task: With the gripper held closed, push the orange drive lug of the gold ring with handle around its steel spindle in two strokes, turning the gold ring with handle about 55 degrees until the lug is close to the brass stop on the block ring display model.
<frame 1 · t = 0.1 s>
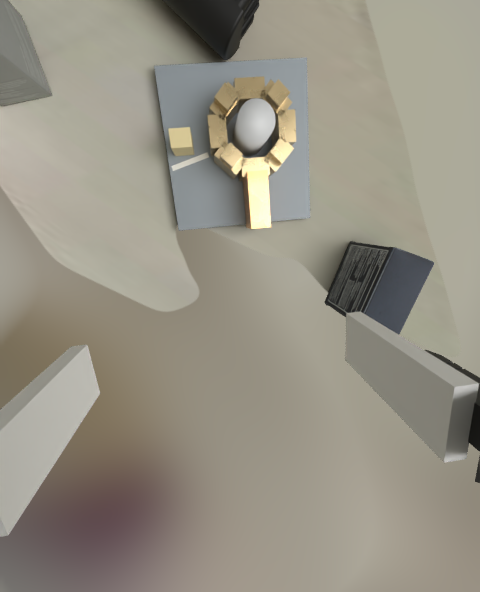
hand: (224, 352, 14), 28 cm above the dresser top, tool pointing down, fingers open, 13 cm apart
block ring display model: (246, 142, 37), on the dresser top
small box: (353, 278, 44), on the dresser top
grey rectangular box: (17, 66, 32), on the dresser top
gold ring with handle: (253, 159, 33), point 5 cm above the dresser top, hinge at 0.0°
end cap: (207, 16, 33), on the dresser top
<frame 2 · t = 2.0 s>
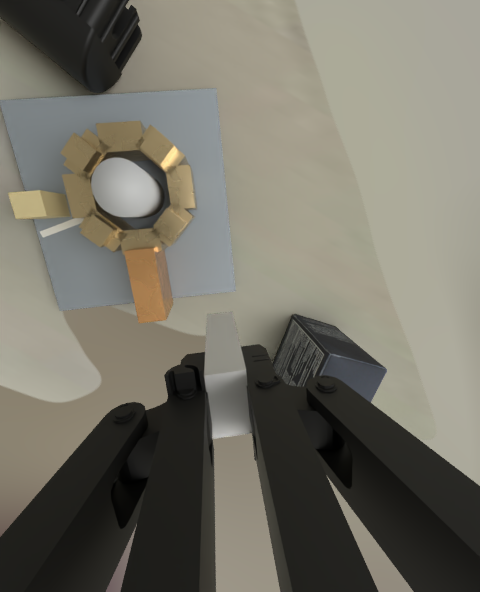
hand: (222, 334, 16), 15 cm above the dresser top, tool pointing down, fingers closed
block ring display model: (146, 197, 28), on the dresser top
small box: (299, 356, 35), on the dresser top
gold ring with handle: (141, 228, 24), point 5 cm above the dresser top, hinge at 0.0°
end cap: (77, 31, 24), on the dresser top
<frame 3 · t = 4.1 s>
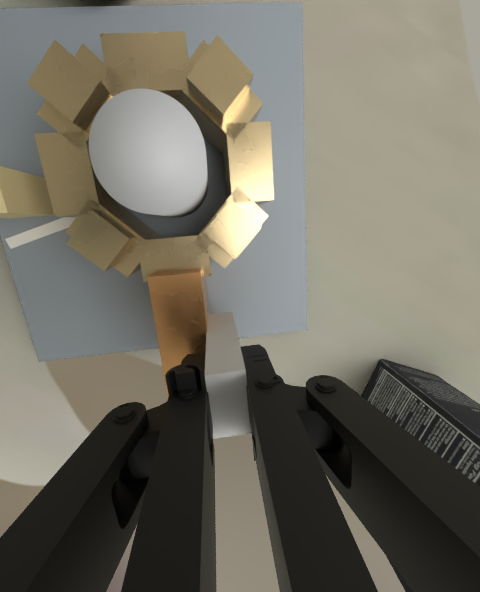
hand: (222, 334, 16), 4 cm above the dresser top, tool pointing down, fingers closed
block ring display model: (177, 185, 18), on the dresser top
small box: (382, 415, 25), on the dresser top
gold ring with handle: (175, 236, 14), point 4 cm above the dresser top, hinge at 0.2°, touching gripper
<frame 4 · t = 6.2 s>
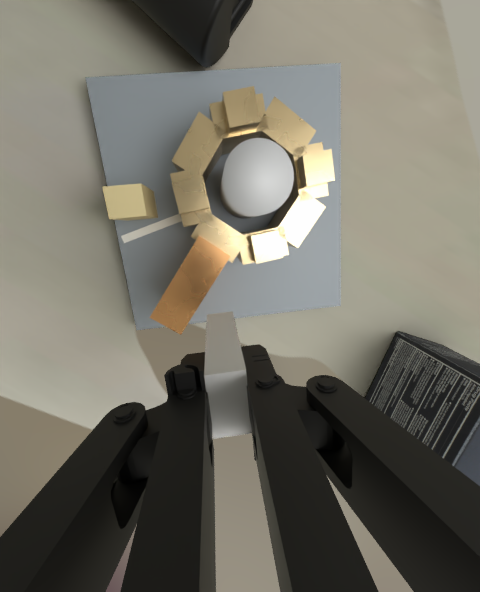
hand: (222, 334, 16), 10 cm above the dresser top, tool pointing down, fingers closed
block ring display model: (242, 194, 23), on the dresser top
small box: (399, 379, 30), on the dresser top
gold ring with handle: (226, 224, 20), point 4 cm above the dresser top, hinge at 38.4°
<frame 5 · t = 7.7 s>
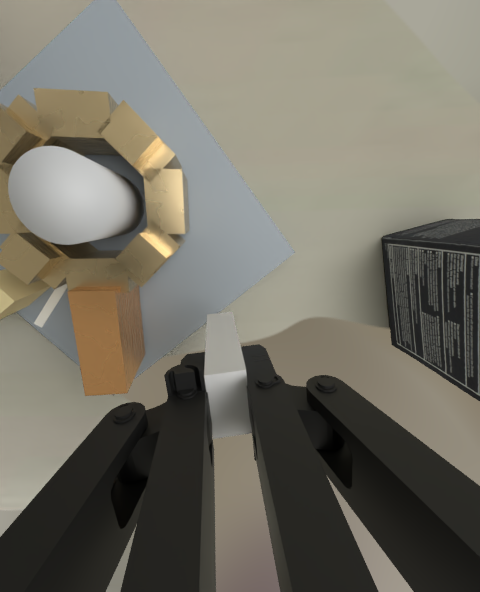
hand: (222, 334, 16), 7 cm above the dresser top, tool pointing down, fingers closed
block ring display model: (120, 206, 20), on the dresser top
small box: (417, 284, 25), on the dresser top
gold ring with handle: (103, 255, 16), point 4 cm above the dresser top, hinge at 38.4°
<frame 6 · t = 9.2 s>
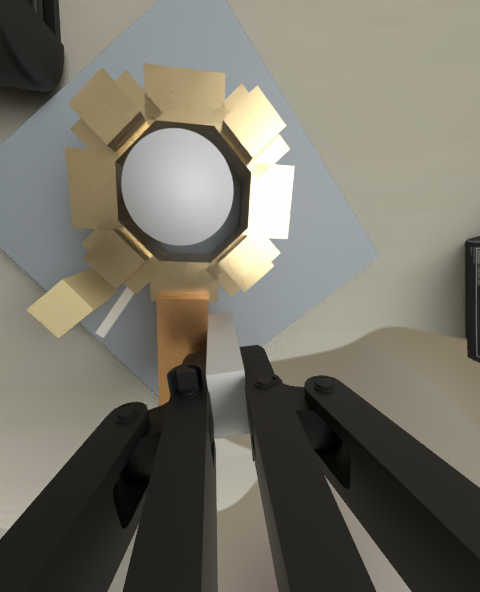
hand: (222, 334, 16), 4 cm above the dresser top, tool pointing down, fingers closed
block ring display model: (192, 204, 18), on the dresser top
gold ring with handle: (186, 258, 15), point 5 cm above the dresser top, hinge at 40.9°, touching gripper
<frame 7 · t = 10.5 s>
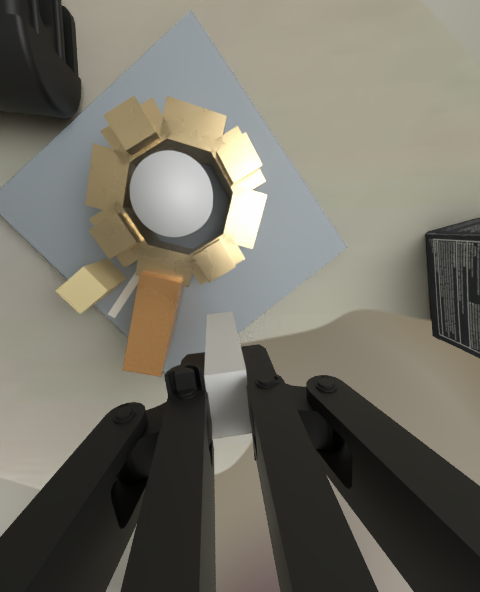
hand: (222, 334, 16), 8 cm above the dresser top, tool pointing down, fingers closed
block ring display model: (187, 205, 22), on the dresser top
small box: (458, 278, 26), on the dresser top
gold ring with handle: (171, 248, 18), point 5 cm above the dresser top, hinge at 53.4°
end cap: (10, 69, 19), on the dresser top
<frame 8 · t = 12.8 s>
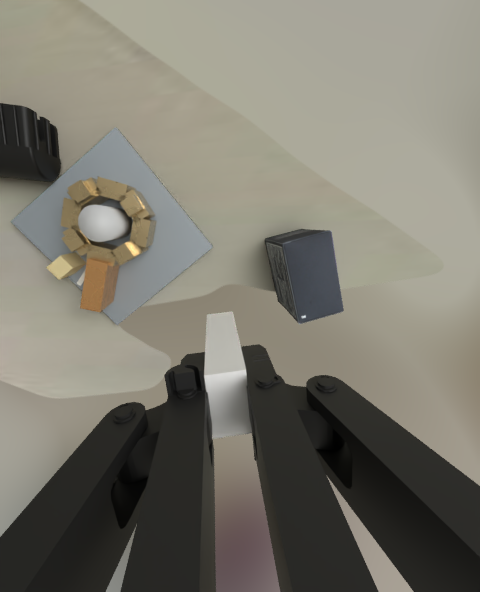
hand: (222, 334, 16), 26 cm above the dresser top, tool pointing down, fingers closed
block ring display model: (121, 223, 39), on the dresser top
small box: (290, 266, 43), on the dresser top
gold ring with handle: (106, 246, 35), point 4 cm above the dresser top, hinge at 53.4°
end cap: (23, 152, 35), on the dresser top
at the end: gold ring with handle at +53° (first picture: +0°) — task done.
